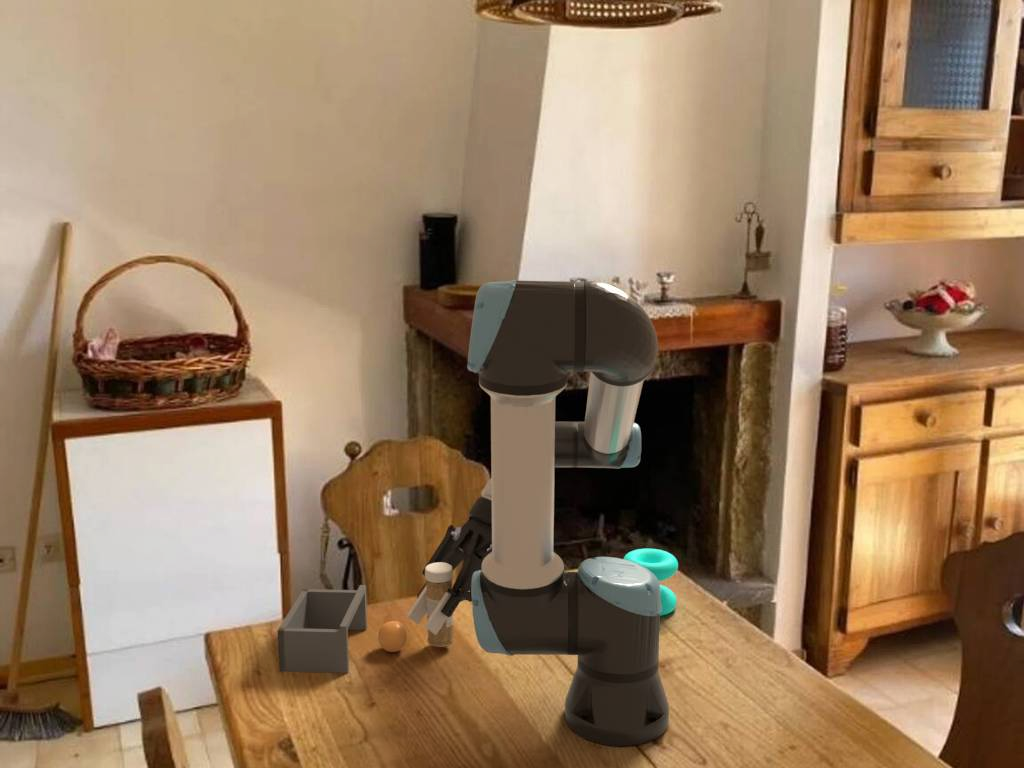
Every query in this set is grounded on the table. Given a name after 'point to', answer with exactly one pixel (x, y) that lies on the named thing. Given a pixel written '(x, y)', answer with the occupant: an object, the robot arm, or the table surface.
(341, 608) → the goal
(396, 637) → the ball
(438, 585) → the sprinkles bottle
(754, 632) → the table surface
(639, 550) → the donuts
